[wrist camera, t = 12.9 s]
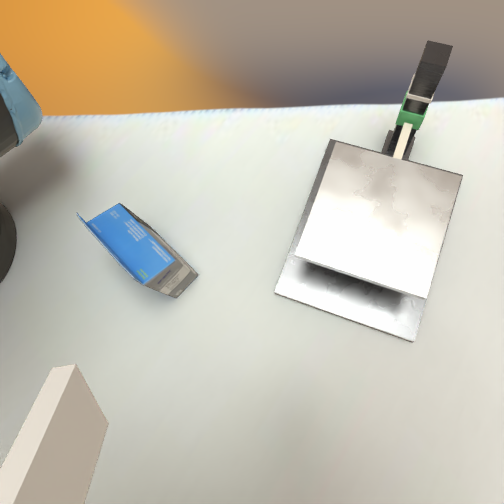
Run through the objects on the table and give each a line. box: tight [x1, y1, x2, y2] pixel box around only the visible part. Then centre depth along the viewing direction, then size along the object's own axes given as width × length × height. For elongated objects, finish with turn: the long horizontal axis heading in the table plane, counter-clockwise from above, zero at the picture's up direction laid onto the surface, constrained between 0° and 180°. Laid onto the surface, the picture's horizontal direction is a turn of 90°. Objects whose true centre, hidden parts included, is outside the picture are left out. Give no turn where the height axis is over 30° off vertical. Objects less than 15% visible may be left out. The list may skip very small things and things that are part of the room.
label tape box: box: [76, 203, 198, 298], centre depth 44 cm, size 9×4×12 cm, turn 45°
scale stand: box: [274, 41, 463, 342], centre depth 41 cm, size 15×22×16 cm
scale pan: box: [295, 123, 462, 300], centre depth 44 cm, size 12×16×7 cm
